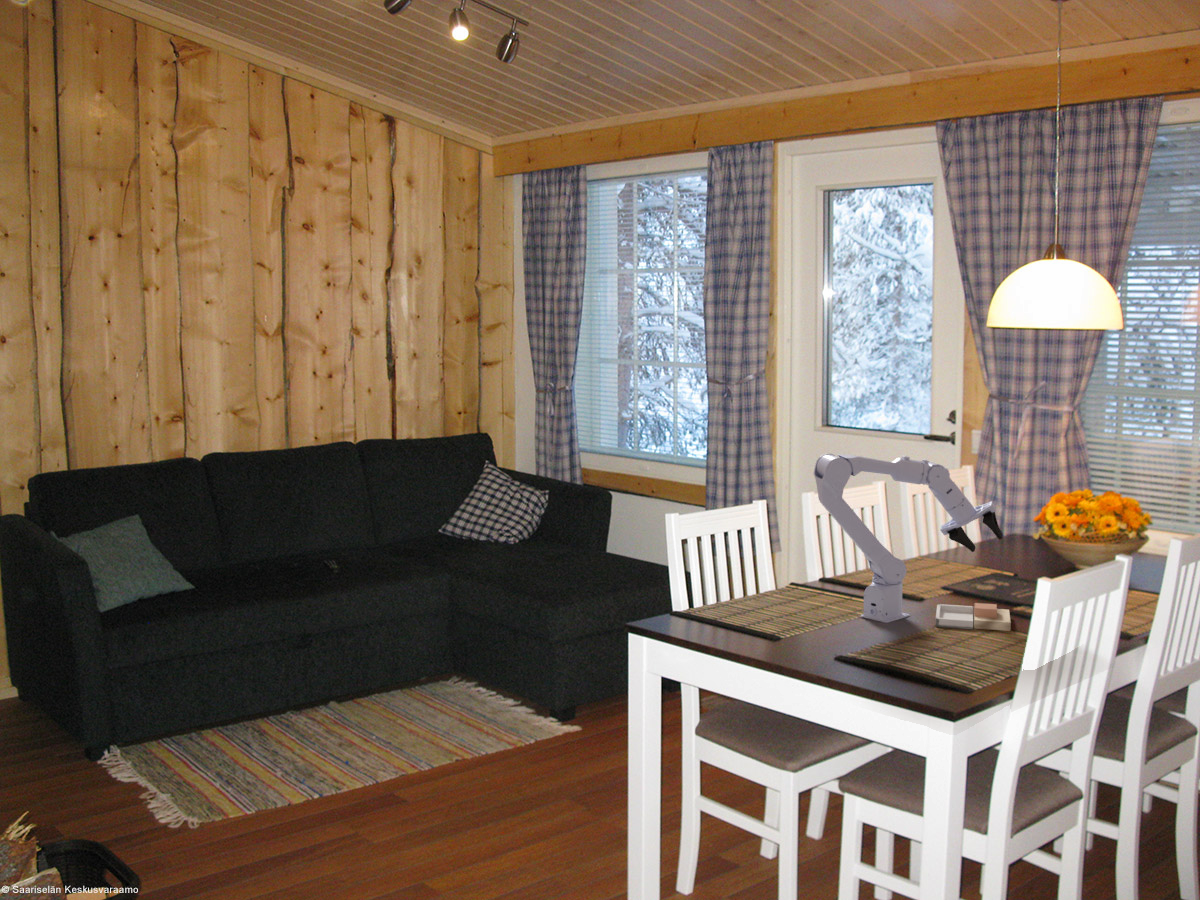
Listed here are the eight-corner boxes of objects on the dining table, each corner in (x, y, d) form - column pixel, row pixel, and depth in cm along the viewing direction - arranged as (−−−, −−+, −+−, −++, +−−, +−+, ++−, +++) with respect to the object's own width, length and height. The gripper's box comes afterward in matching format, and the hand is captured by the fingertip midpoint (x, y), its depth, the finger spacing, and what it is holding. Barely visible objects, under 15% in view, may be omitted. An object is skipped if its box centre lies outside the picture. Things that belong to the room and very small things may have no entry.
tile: (974, 616, 265) (974, 608, 265) (974, 611, 269) (974, 602, 269) (996, 617, 263) (996, 609, 263) (996, 612, 268) (996, 604, 268)
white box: (974, 628, 262) (974, 620, 261) (974, 615, 273) (974, 607, 273) (1010, 630, 259) (1010, 622, 259) (1008, 617, 270) (1009, 609, 270)
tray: (935, 626, 264) (935, 618, 263) (937, 611, 277) (937, 603, 276) (973, 629, 261) (973, 621, 261) (972, 614, 274) (973, 606, 274)
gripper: (982, 481, 271) (1014, 522, 273) (932, 506, 280) (963, 546, 282) (979, 496, 265) (1012, 538, 268) (928, 521, 274) (960, 561, 276)
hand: (987, 543), depth 274 cm, fingers open, 7 cm apart
